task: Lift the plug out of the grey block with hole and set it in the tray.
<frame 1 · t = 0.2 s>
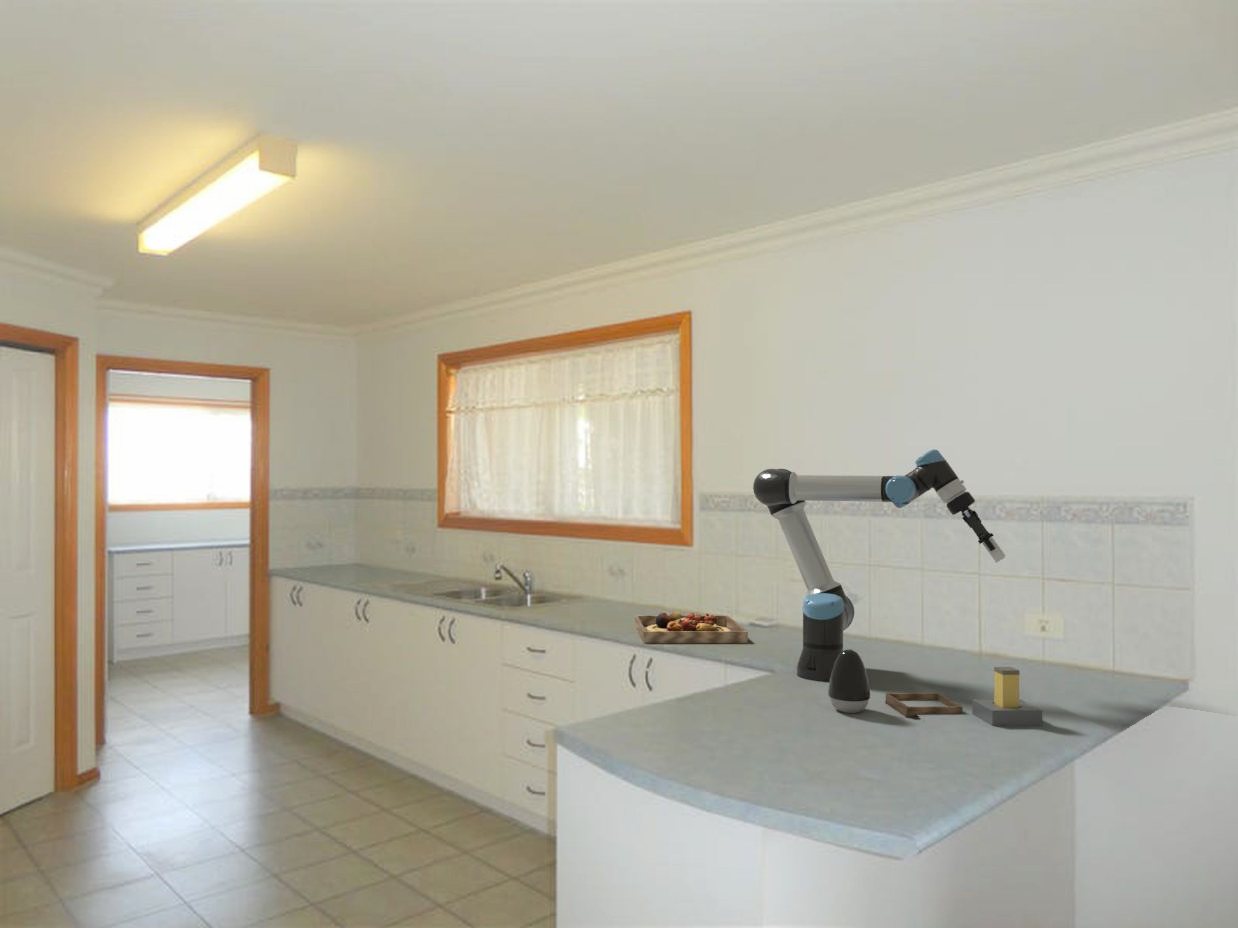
hand: (1001, 559, 251), 36 cm above the worktop, tool tilted 35°, fingers open, 13 cm apart
serving frame: (688, 633, 327), on the worktop
black egg shaped container: (848, 711, 220), on the worktop
grey block with hole: (1006, 723, 209), on the worktop
wooden plate with food: (688, 635, 327), on the worktop
tray: (922, 709, 221), on the worktop
plug: (1006, 719, 209), point 1 cm above the worktop, touching grey block with hole
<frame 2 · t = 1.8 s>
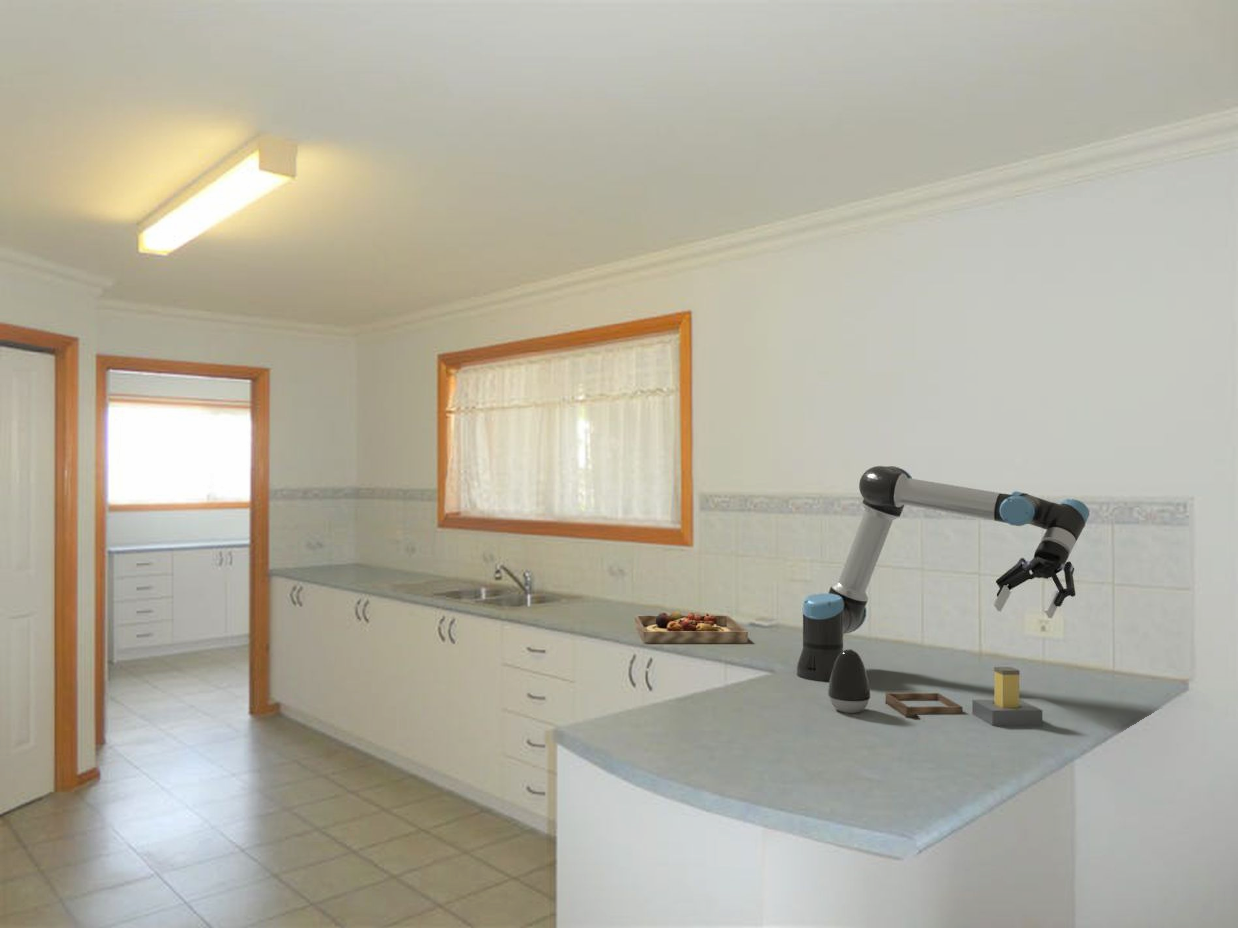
hand: (1021, 611, 221), 25 cm above the worktop, tool tilted 45°, fingers open, 13 cm apart
nothing on the worktop moved.
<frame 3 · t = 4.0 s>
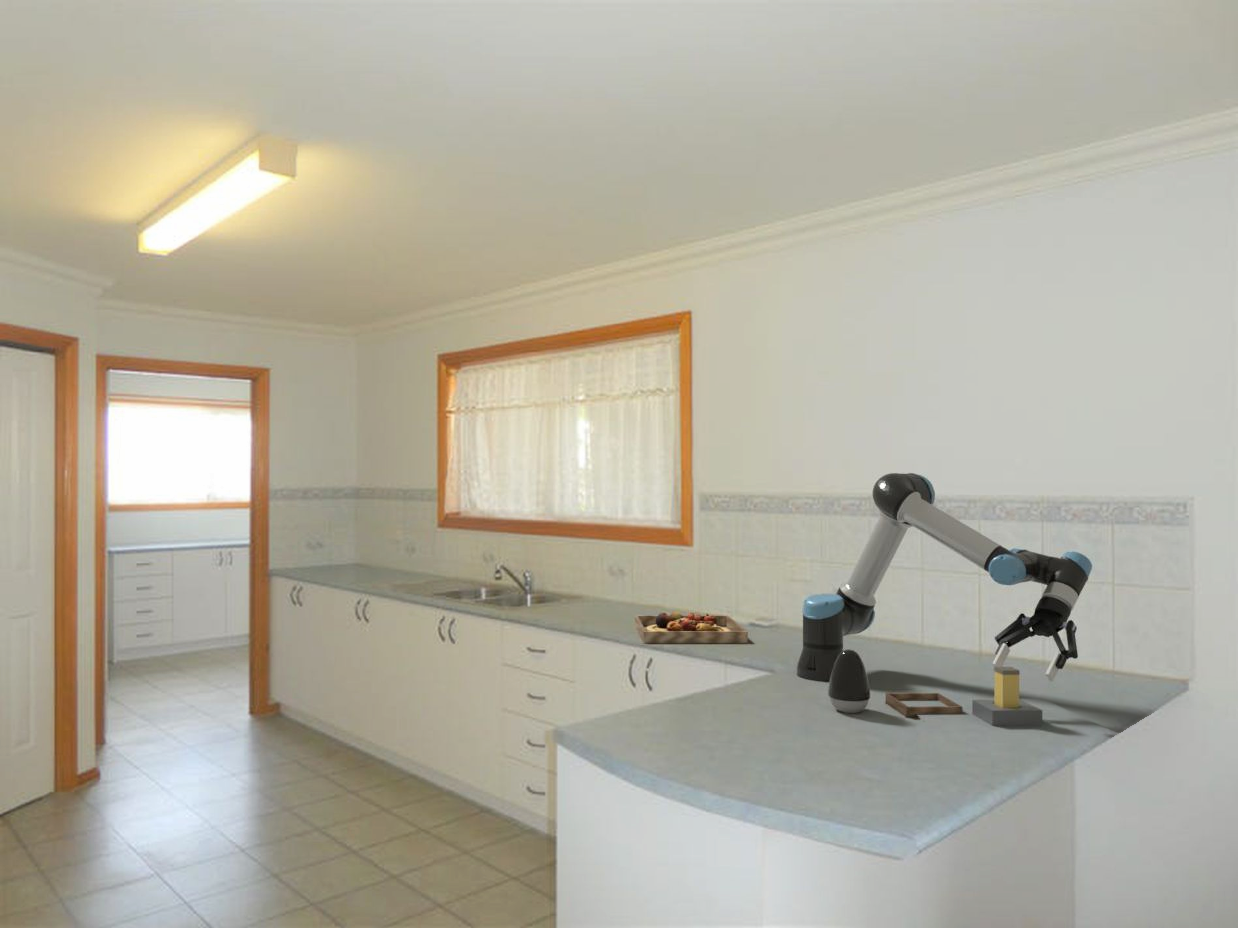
hand: (1021, 672, 211), 12 cm above the worktop, tool tilted 45°, fingers open, 13 cm apart
nothing on the worktop moved.
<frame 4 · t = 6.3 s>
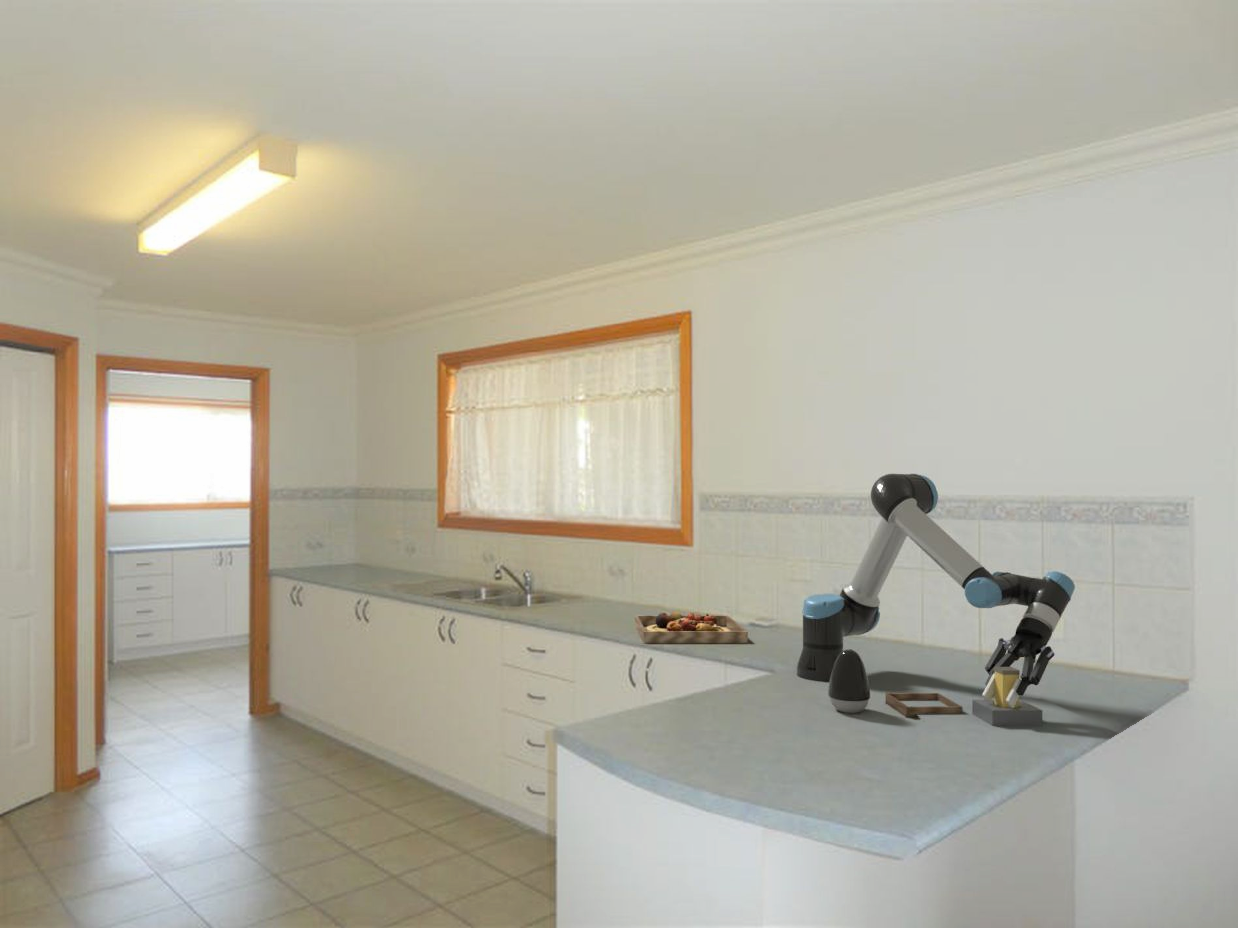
hand: (997, 701, 207), 6 cm above the worktop, tool tilted 45°, fingers closed on plug, 5 cm apart
plug: (1006, 719, 209), point 1 cm above the worktop, touching gripper, grey block with hole
everything else where it was.
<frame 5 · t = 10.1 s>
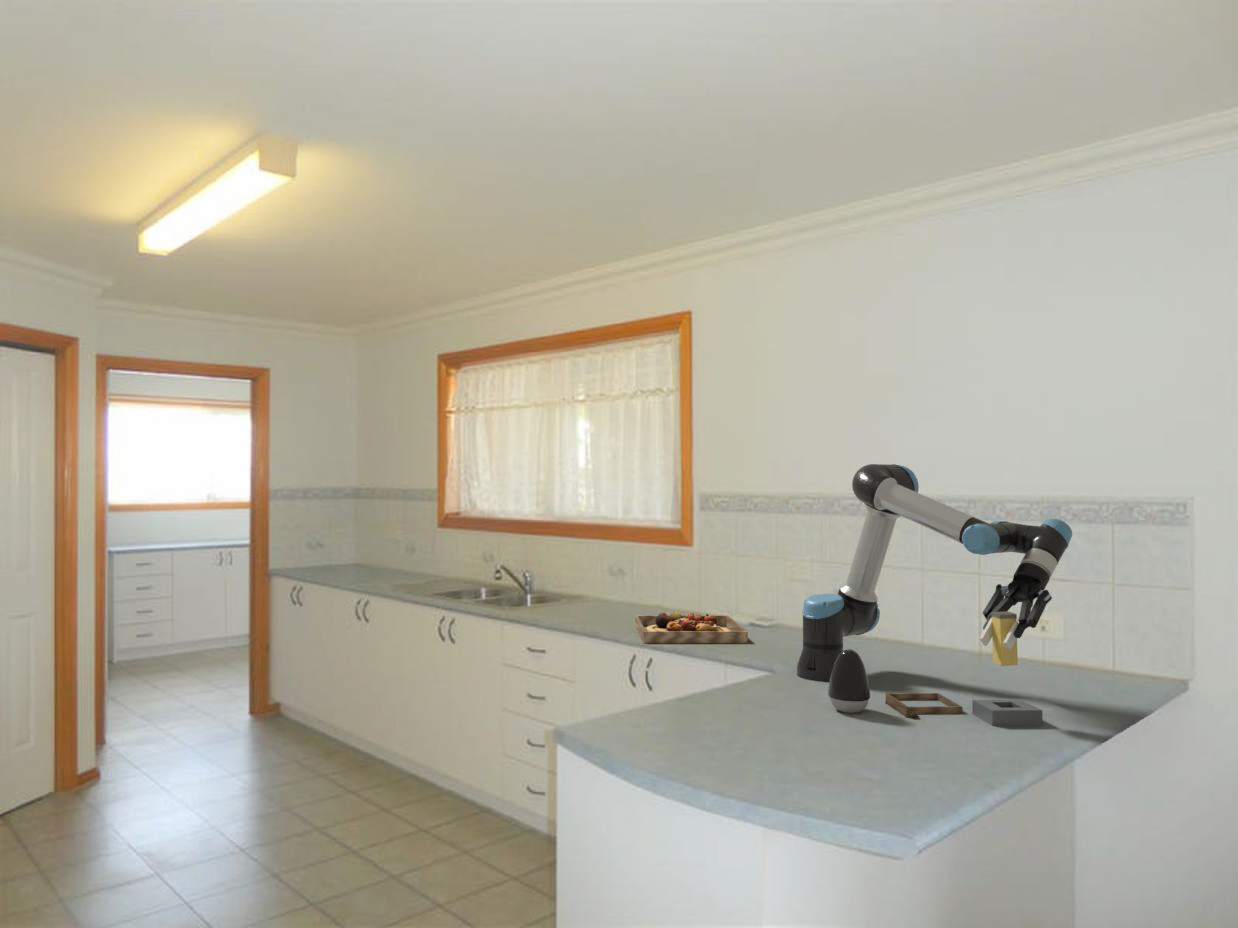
hand: (994, 644, 208), 19 cm above the worktop, tool tilted 45°, fingers closed on plug, 5 cm apart
plug: (1005, 663, 210), point 14 cm above the worktop, touching gripper
everything else where it was.
when the fingers open (7 cm above the worktop, at t = 13.9 s): plug drops 2 cm, resting on tray.
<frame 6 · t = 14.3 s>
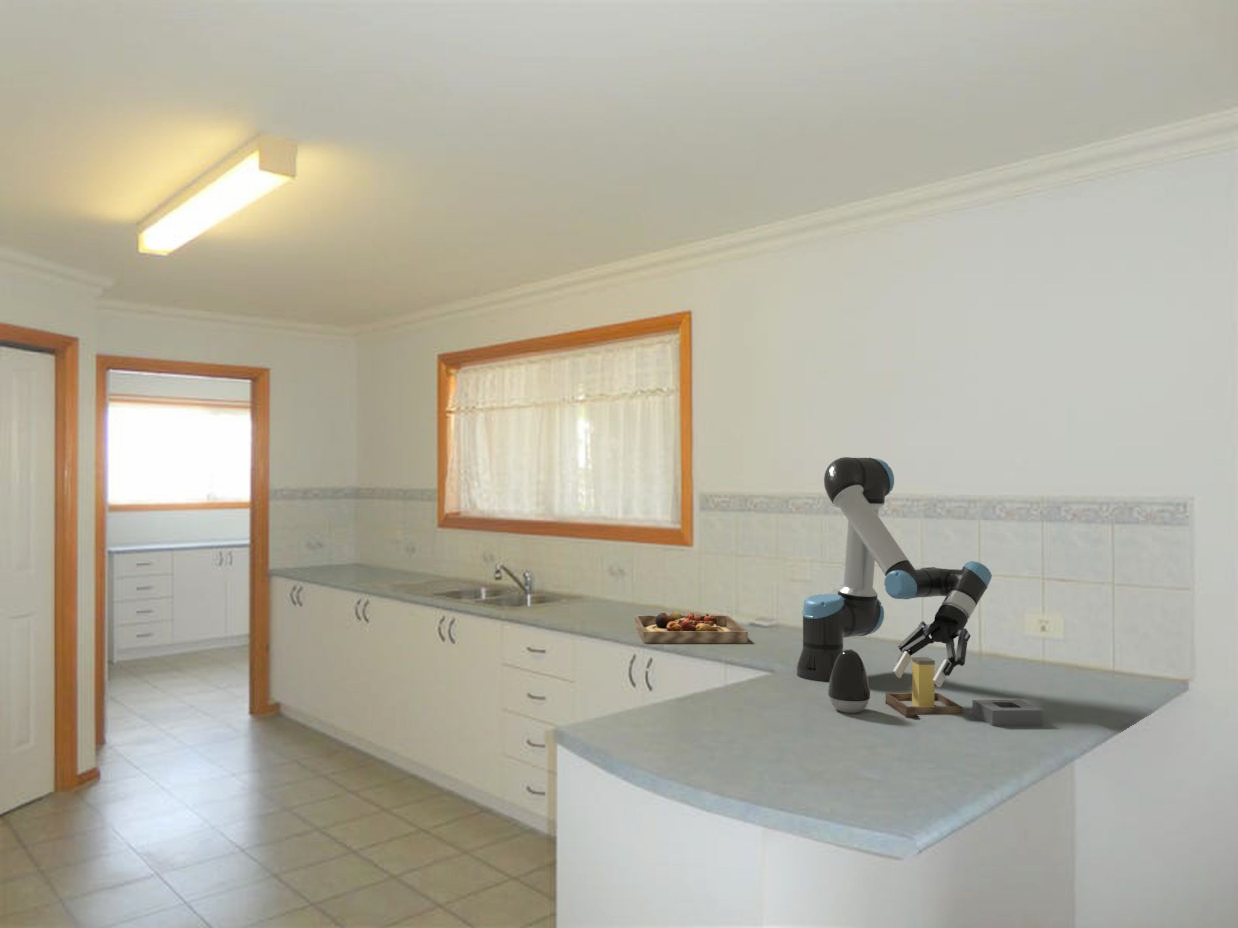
hand: (915, 679, 220), 8 cm above the worktop, tool tilted 45°, fingers open, 11 cm apart
plug: (922, 706, 222), point 1 cm above the worktop, touching tray
everything else where it was.
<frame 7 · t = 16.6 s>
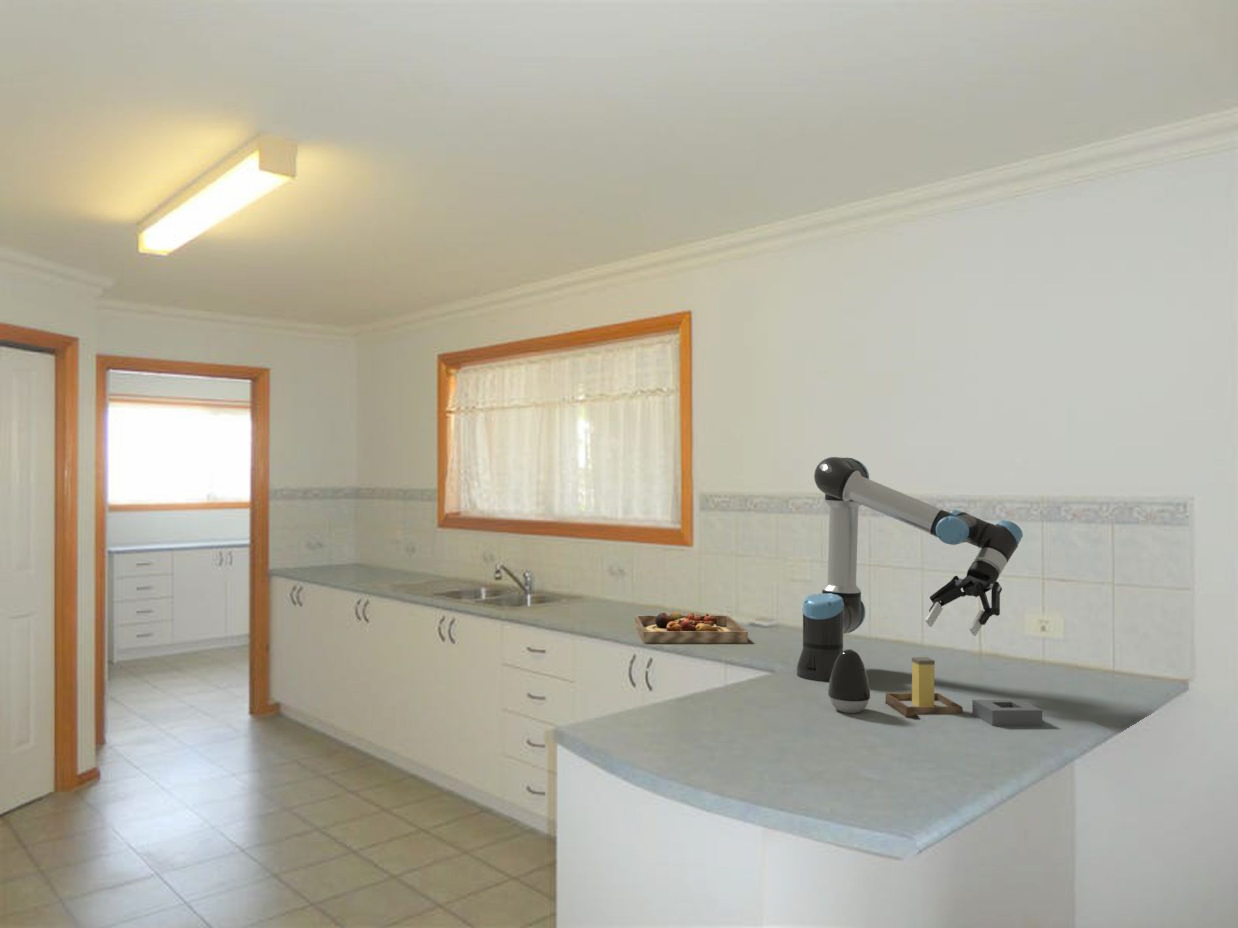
hand: (949, 627, 232), 19 cm above the worktop, tool tilted 45°, fingers open, 13 cm apart
nothing on the worktop moved.
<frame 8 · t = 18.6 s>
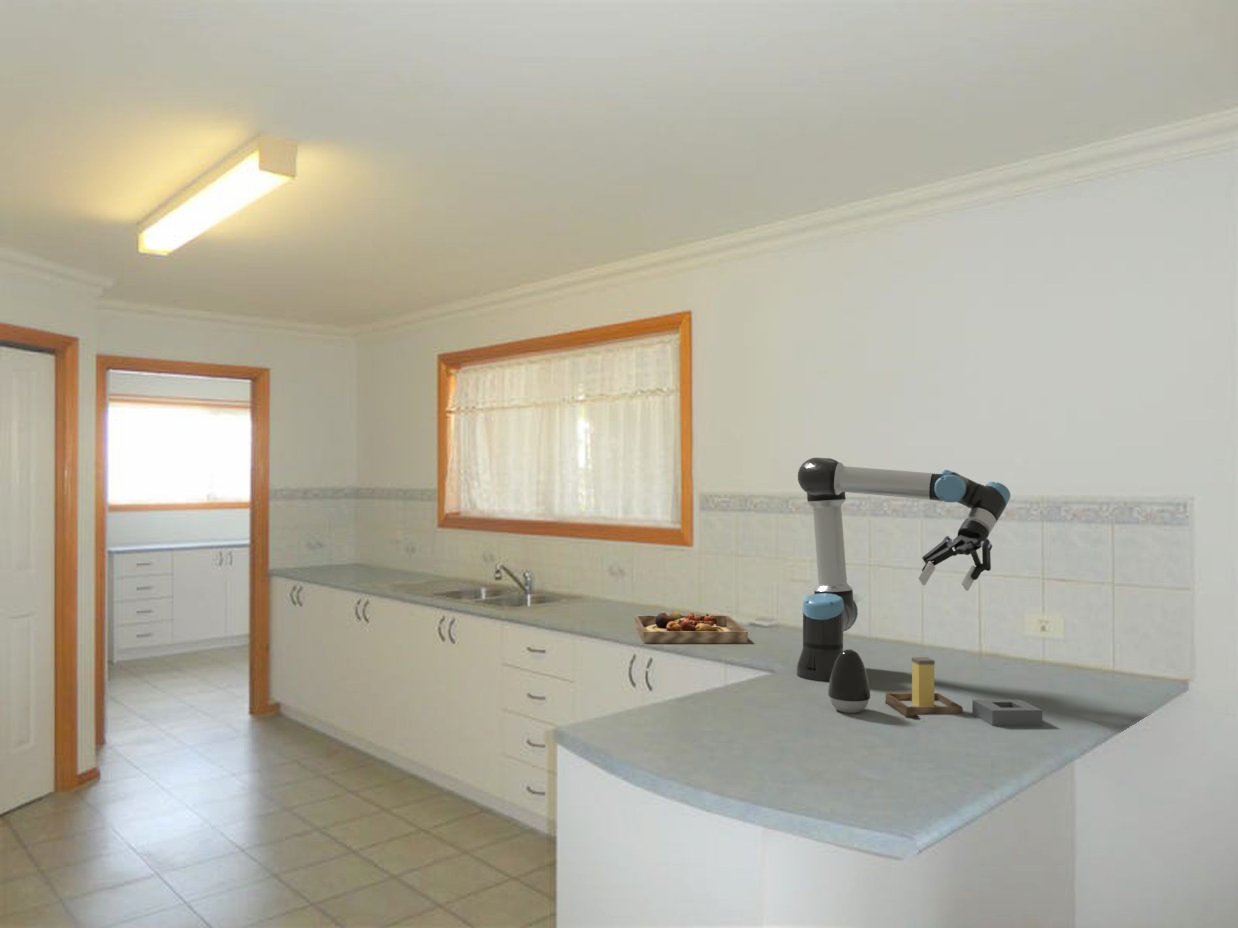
hand: (942, 584, 238), 30 cm above the worktop, tool tilted 45°, fingers open, 13 cm apart
nothing on the worktop moved.
at the end: plug inside the target area on the tray (0.5 cm from its centre), point 0.6 cm above the tray's base; the gripper is holding nothing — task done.
